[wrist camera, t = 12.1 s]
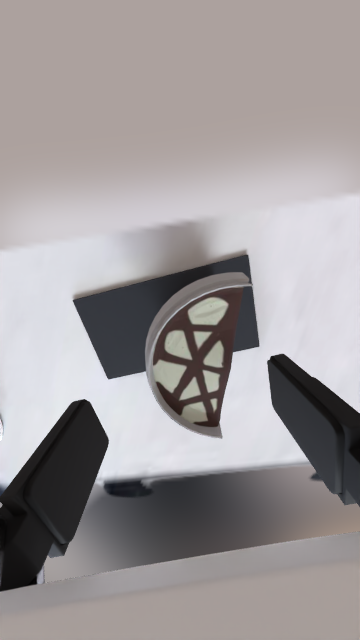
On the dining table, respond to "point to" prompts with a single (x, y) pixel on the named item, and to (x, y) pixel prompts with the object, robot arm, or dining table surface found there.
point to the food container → (195, 350)
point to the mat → (152, 316)
